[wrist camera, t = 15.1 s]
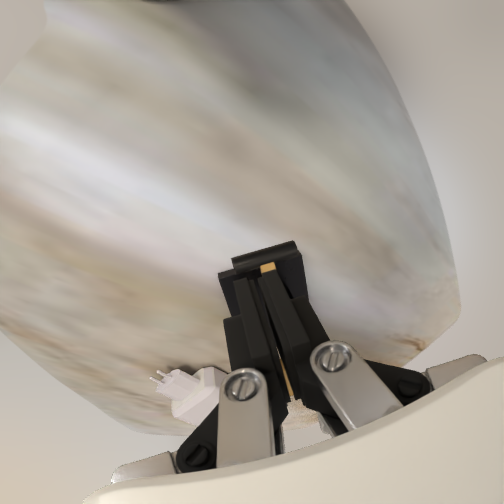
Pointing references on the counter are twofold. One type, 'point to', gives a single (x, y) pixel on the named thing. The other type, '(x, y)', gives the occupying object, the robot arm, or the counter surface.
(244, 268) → the tap lever
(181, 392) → the charger
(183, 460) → the robot arm
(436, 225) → the counter surface
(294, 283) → the bracket
